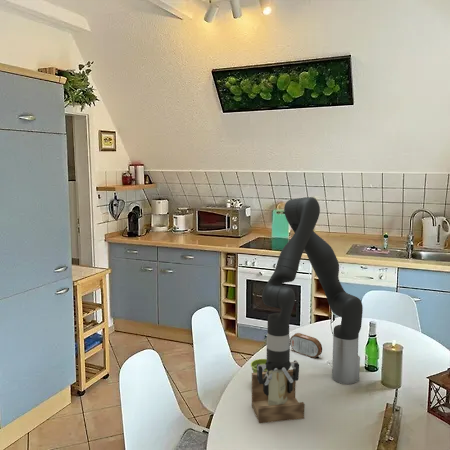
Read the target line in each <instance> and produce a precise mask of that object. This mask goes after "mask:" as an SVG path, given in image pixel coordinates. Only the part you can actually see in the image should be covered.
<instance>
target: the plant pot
mask: <svg viewBox="0 0 450 450" xmlns="http://www.w3.org/2000/svg"><path fill="white" fill-rule="evenodd" d="M266 361H267V358H258V359H254V360H252V361H251V363H250V367H251V369H252V373H257V364H260V365H263V364H266ZM264 372H267V369H266V368H265V369H264Z"/></svg>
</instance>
